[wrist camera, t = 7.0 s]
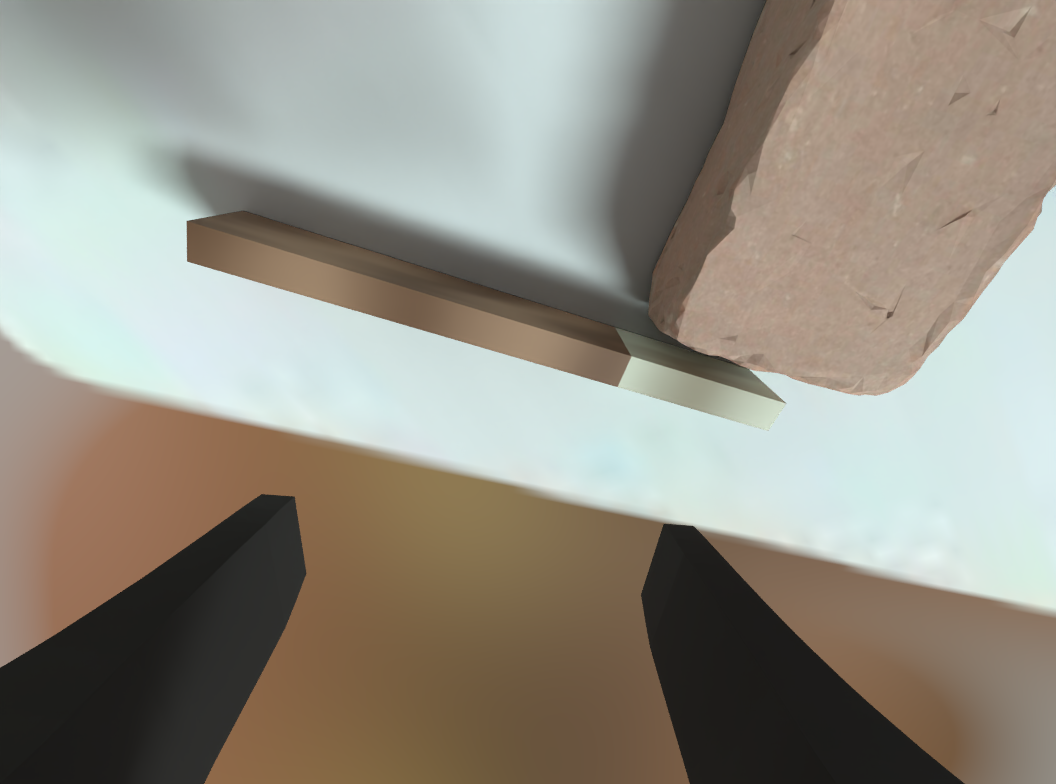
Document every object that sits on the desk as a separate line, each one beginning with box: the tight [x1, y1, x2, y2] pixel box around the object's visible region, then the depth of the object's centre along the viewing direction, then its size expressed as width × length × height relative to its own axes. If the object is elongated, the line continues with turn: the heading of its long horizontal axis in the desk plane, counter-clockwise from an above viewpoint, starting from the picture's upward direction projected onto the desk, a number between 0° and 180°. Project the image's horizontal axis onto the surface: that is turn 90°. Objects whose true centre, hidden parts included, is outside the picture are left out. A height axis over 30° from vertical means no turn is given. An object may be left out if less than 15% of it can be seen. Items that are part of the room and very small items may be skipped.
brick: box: [648, 0, 1056, 396], centre depth 13 cm, size 16×8×5 cm, turn 164°
